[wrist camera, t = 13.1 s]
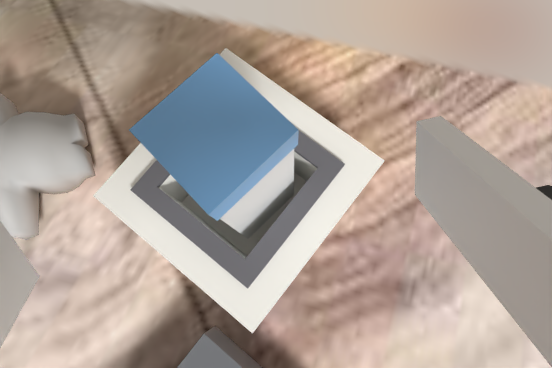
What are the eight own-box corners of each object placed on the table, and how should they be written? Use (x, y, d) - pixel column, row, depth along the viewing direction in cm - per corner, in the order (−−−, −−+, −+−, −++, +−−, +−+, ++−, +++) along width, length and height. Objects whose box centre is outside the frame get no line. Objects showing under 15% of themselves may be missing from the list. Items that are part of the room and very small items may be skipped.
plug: (203, 194, 25) (128, 129, 14) (250, 150, 25) (217, 52, 14) (248, 241, 24) (208, 214, 13) (295, 194, 25) (298, 129, 13)
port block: (131, 210, 25) (90, 194, 20) (237, 88, 27) (224, 44, 22) (260, 320, 24) (251, 334, 18) (366, 182, 25) (386, 158, 20)
